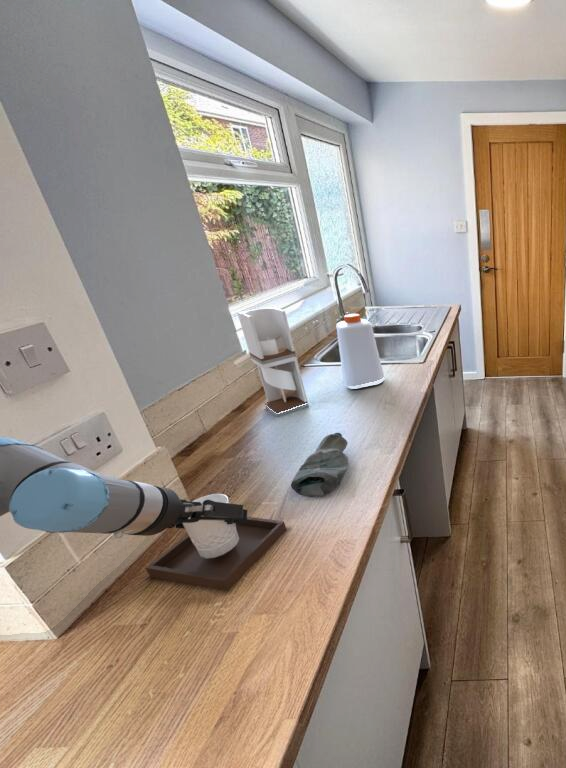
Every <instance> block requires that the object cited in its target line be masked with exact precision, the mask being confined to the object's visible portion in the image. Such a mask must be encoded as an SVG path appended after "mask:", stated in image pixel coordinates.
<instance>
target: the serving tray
mask: <svg viewBox="0 0 566 768" xmlns="http://www.w3.org/2000/svg"><path fill="white" fill-rule="evenodd" d="M235 524H236V529H237V533H238V536H239V541H238V543H237V545H236V546H235V547H234V548H233V549H232V550H230V551H228V552H227V553H225V554H223V555H221V556H218V557H215V558H204V557H201V556H200V554H199V552H198V550H197V548H196V546H195V545H194V544H193V543H192V541H191V539H190V537H189V535H188V534H186V535H185V536H184V537H183V538H181V539H180V540H179V541H177V542H176V543H175V544H174V545H172V546H171V547H170V548H169V549H167V550H166V551H165V552H163V554H161V555H160V556H158V557H157V558H156V559H155V560H154V561H152V562H151V563H150V564H149V565H147V566H146V567H145V570H146V572H147V574H148V576H149V578H152V579H157V580H161V581H169V582H174V583H180V584H185V585H191V586H192V585H193V586H198V587H204V588H209V589H216V590H221V591H229V590H230V589H231V588H232V587H233V586H234V585H235V584H236V583H237V582H239V580H240V579H241V578H242V577H243V576H244V575H245V574H246V573H247V572H248V571H249V570H250V569H251V568H252V567H253V566H254V564H256V563H257V562H258V561H259V559H260V558H261V557H262V556H264V554H265V553H267V551H268V550H270V549H271V547H272V546H273V545H274V544H275V543H276V542H277V541H278V540H279V539H280V538H281V537H282V536H283V535H284V534H285V533H286V531H287V527H286V523H285V521H284V520H276V519H268V518H261V517H252V516H247V520H246V524H238V523H235Z"/></svg>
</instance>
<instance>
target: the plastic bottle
mask: <svg viewBox="0 0 566 768" xmlns="http://www.w3.org/2000/svg"><path fill="white" fill-rule="evenodd" d="M335 326H336V336H337V344H338V350H339V359H340V367H341V375H342V381H343V380H344V381H343V383H344V382H345V383H344V385H345V386H346V385H347V386H356V385H361V384H365V383H369V382H374V381H377V380H380V379H382V378H383V377H384V378H385V374H384V370H383V365H382V362H381V357H380V354H379V353H380V352H379V350H378V349H379V348H378V345H377V342H376V337H375V333H374V329H373V324H372V323H371V322H370V321H369V320H368V319H365V318H361V315H360V314H359V313H349V314H346V315H344V316H343V320H342V321H339V322H337V323H336V325H335Z"/></svg>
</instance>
